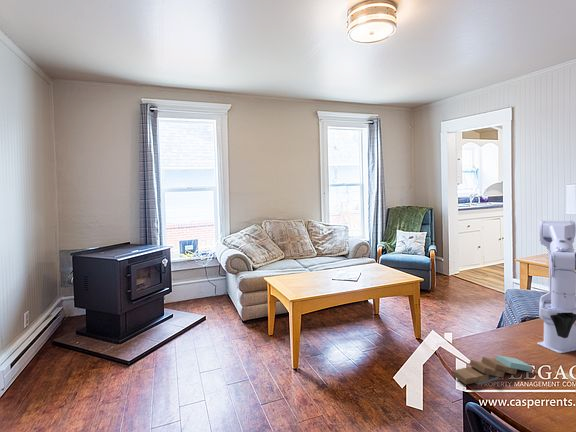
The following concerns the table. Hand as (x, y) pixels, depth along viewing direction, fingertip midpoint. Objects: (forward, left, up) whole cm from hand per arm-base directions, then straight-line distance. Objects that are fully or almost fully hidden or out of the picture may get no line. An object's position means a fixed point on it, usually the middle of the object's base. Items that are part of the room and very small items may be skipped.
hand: (562, 336), depth 103 cm
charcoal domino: (+22, -5, -11) cm, 25 cm away
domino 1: (+26, -4, -9) cm, 27 cm away
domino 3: (+14, -5, -10) cm, 18 cm away
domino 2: (+20, -5, -10) cm, 22 cm away
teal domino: (+9, -5, -10) cm, 14 cm away
